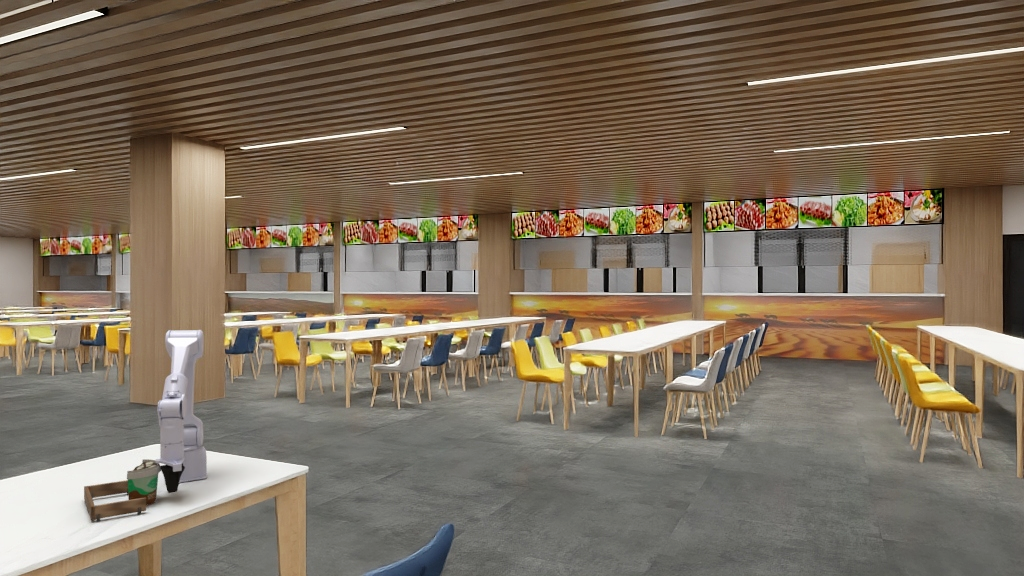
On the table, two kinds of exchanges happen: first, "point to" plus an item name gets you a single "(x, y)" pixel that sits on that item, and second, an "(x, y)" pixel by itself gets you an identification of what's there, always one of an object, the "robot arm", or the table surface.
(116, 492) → the wooden u-shaped frame
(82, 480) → the table surface
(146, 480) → the food container
